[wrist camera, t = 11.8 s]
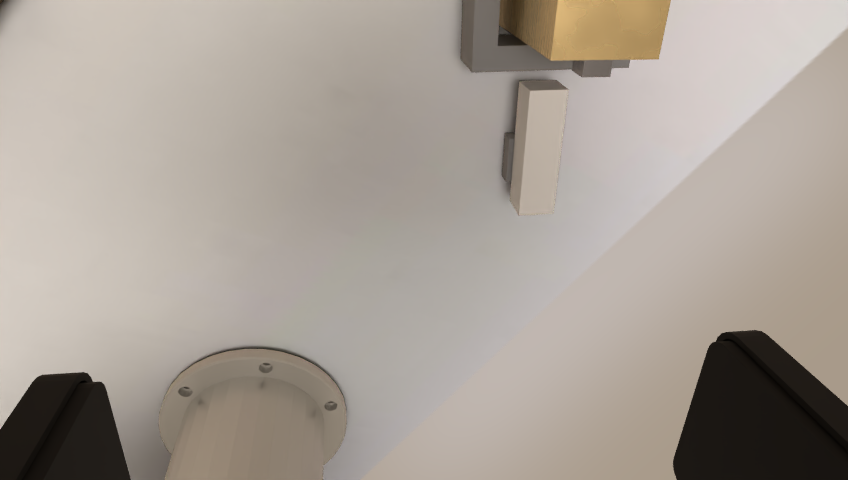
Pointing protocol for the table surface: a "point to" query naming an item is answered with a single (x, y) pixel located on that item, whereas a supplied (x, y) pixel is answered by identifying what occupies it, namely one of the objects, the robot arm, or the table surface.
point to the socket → (522, 106)
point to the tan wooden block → (588, 30)
